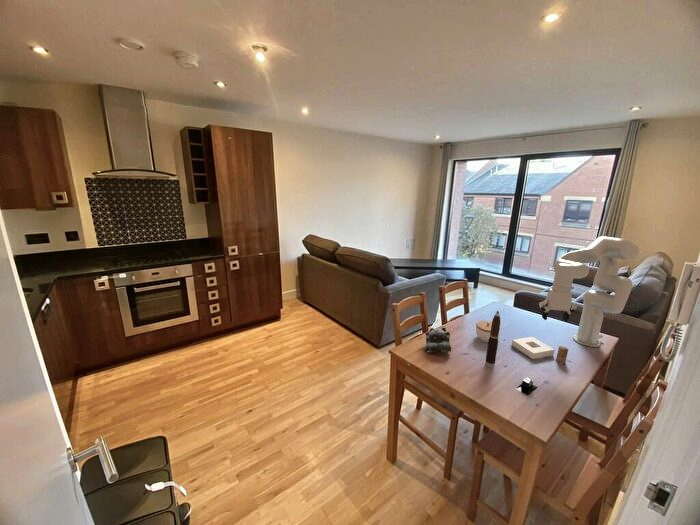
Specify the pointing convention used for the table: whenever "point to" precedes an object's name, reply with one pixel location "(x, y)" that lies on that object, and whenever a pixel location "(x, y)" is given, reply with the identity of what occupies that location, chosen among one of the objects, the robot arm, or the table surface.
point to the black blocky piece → (526, 386)
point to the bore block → (532, 348)
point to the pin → (562, 355)
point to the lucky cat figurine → (437, 340)
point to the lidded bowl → (483, 330)
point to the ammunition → (493, 341)
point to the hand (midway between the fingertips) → (554, 319)
